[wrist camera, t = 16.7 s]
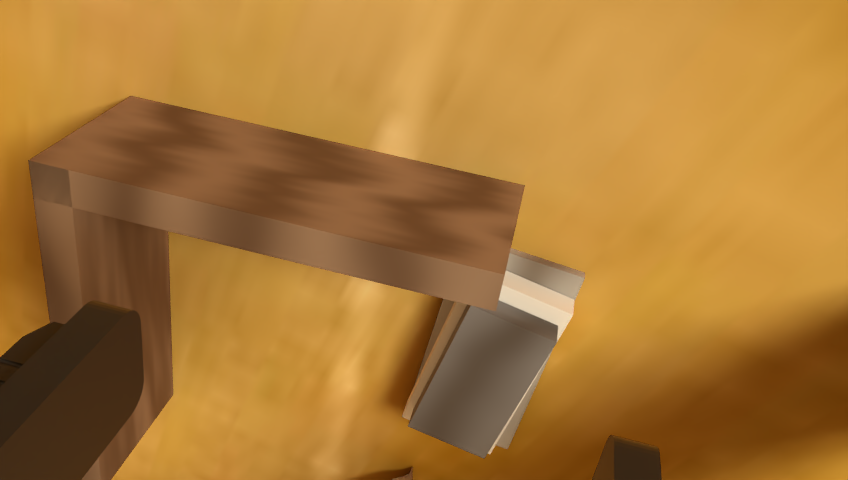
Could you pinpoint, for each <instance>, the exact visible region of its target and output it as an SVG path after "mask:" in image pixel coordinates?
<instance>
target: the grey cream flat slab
mask: <svg viewBox="0 0 848 480" xmlns="http://www.w3.org/2000/svg"><path fill="white" fill-rule="evenodd" d="M506 271H509V272H511V273H513V274H516V275H518V276H520V277H523V278H525V279H527V280H530V281H532V282H534V283H537V284H539V285H541V286H544V287H546V288H548V289H551V290H553V291H555V292H558V293H560V294H562V295H565V296H567V297H569V298H572V299H574V301H575V299H576V296H577V294H578V292H579V290H580V288H581V285H582V283H583V281H584V279H585V273H584V272H581V271H578V270H575V269H572V268H569V267H566V266H563V265H560V264H557V263H554V262H551V261H548V260H545V259H542V258H539V257H536V256H533V255H530V254H527V253H524V252H521V251H518V250H515V249H512V248H511V249H510V254H509V258H508V263H507V267H506ZM454 302H455V301H451V300H447V299H443V301H442V304H441V307H440V310H439V313H438V316H437V319H436V322H435V325H434V328H433V331H432V334H431V337H430V340H429V343H428V346H427V349H426V352H425V355H424V358H423V361H422V364H421V367H420V370H419V373H418V376H417V379H416V382H417V380H418V377H419V375H420V373H421V371H422V369H423V367H424V365H425V363H426V361H427V359H428V356H429V354H430V352H431V350H432V348H433V346H434V344H435V342H436V340H437V338H438V335H439V333H440V331H441V329H442V327H443V325H444V323H445V321H446V319H447V317H448V314H449V312H450V310H451V308H452V306H453V304H454ZM551 352H552V351H551ZM550 354H551V353H550ZM549 356H550V355H549ZM549 356H548V358H547V360H546V361H545V363H544V365H543V366H542V368H541V370H540V371H539V373H538V375H537V376H536V378H535V380H534V381H533V383H532V385H531V387H530V388H529V390H528V392H527V393H526V395H525V397H524V398H523V400H522V402H521V403H520V405H519V407H518V408H517V410H516V412H515V413H514V415H513V417H512V419H511V420H510V422H509V424H508V425H507V427H506V429H505V430H504V432H503V434H502V435H501V437H500V439H499V440H498V442H497V444H496V446H499V447H502V448H505V449H508V448H509V445H510V443H511V441H512V439H513V436H514V434H515V432H516V430H517V428H518V425H519V423H520V421H521V419H522V416H523V414H524V412H525V410H526V408H527V405H528V403H529V401H530V399H531V396H532V394H533V392H534V390H535V388H536V385H537V383H538V381H539V379H540V376H541V374H542V372H543V370H544V368H545V365H546V363H547V361H548V359H549ZM416 382H415V384H416ZM414 386H415V385H414Z"/></svg>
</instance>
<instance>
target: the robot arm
mask: <svg viewBox="0 0 848 480" xmlns="http://www.w3.org/2000/svg"><path fill="white" fill-rule="evenodd" d="M143 385H144V368H143V350H142V332H141V319H140V315H139V314H138V312H137V311H135V310H131V309H127V308H123V307H119V306H115V305H111V304H108V303H104V302H100V301H96V300H93V301H90V302H88V303H87V304H85V305H84V306H83V307H82V308H81V309H80V310H79V311H78V312H77V313H76V314H75V315H74V316H73V317H72V318H71V319H70V320H69V321H68V322H67V323H66V324H61V323H57V322H52V323H50V324H48V325H46V326H44V327H42V328H40V329H38V330H36V331H34V332H32V333H29V334H27V335H25V336H23V337H22V338H21V339H20V340H19V341H18V342H17V343H15V344H14V345H13V346H12V347H11V348H10V349H9V350H8V351H7V352H6V353H5V354H4V355H2V356H1V357H0V480H82V478H83V477H84V476H85V474H86V473H87V472H88V471H89V469H90V468H91V467H92V465H93V464H94V463H95V461H96V460H97V459H98V458H99V456H100V455H101V454H102V452H103V451H104V450H105V449H106V447H107V446H108V445H109V443H110V442H111V441H112V439H113V438H114V437H115V436H116V434H117V433H118V432H119V430H120V429H121V428H122V427H123V425H124V424H125V423H126V421H127V420H128V419H129V417H130V416H131V415H132V413H133V412H134V410H135V408H136V406H137V404H138V402H139V400H140V397H141V394H142V390H143ZM592 480H662V478H661V464H660V453H659V449H658V447H656V446H652V445H649V444H645V443H641V442H637V441H633V440H629V439H625V438H621V437H617V436H614V435H610V436H609V438H608V440H607V442H606V444H605V447H604V449H603V452H602V455H601V457H600V460H599V463H598V465H597V468H596V470H595V473H594V476H593V478H592Z"/></svg>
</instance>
